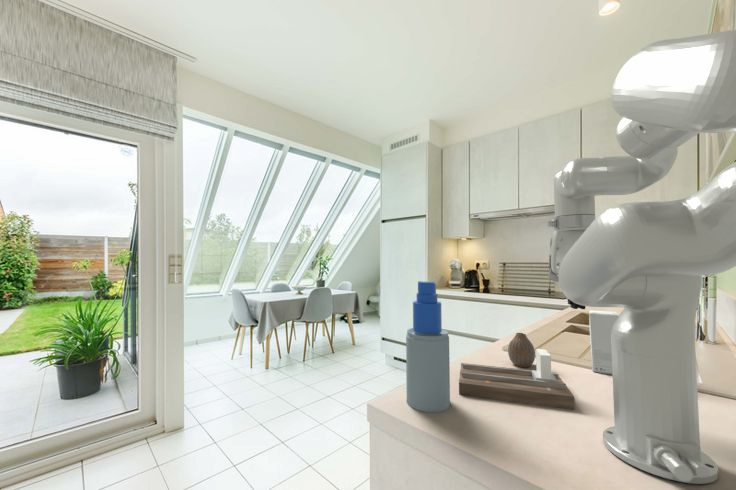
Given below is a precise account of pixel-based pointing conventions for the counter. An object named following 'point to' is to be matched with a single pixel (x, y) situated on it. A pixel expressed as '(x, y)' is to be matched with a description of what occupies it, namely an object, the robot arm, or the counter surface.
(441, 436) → the counter surface
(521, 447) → the counter surface
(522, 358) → the vase
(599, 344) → the skincare box
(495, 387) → the fader console
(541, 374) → the fader slider
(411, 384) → the spray bottle
